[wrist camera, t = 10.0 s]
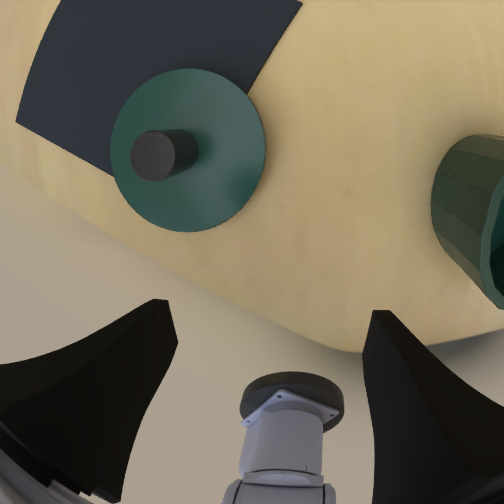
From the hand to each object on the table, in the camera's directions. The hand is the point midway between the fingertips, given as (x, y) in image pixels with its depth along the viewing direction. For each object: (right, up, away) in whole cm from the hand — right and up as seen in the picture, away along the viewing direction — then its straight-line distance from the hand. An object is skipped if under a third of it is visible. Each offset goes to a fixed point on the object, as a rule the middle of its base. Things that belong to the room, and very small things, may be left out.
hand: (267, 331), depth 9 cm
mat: (-10, +16, +5) cm, 20 cm away
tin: (+16, +6, +5) cm, 17 cm away
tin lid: (-5, +9, +6) cm, 12 cm away
